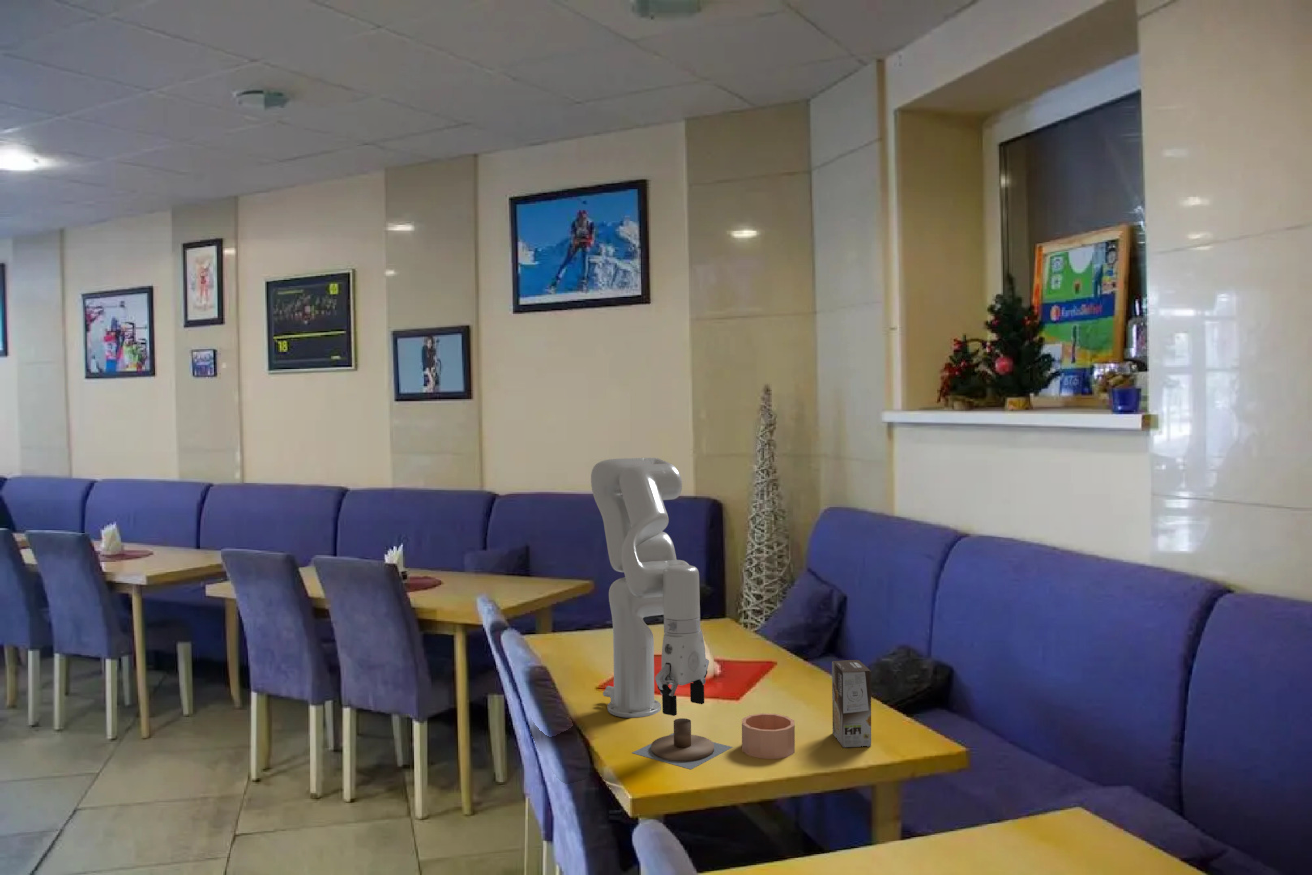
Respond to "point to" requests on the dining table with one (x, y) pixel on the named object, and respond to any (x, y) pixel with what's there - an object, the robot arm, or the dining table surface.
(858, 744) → the coffee box
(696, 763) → the mat
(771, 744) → the bowl
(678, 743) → the lid
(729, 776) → the dining table surface
